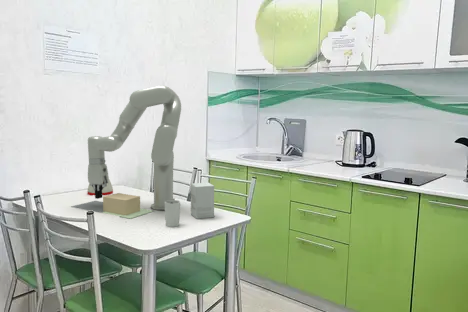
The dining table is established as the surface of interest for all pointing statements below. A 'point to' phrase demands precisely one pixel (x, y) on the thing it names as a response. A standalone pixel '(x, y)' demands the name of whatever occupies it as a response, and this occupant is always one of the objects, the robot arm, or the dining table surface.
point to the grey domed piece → (105, 191)
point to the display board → (98, 207)
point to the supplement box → (202, 200)
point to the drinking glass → (172, 212)
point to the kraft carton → (121, 203)
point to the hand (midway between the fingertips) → (98, 198)
